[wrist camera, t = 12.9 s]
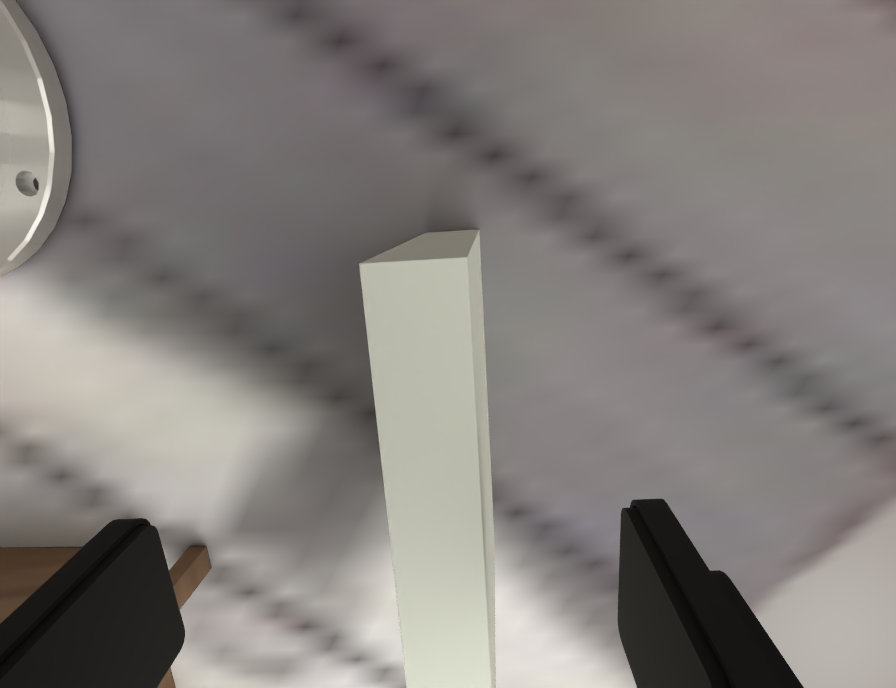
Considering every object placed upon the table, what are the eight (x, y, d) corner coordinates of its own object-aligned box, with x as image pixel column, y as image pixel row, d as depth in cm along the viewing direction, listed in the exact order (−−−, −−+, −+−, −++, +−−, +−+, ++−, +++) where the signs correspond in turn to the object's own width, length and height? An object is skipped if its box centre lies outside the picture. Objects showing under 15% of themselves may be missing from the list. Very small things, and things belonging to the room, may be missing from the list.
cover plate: (425, 232, 19) (359, 263, 9) (479, 229, 19) (467, 257, 9) (448, 533, 22) (417, 780, 13) (494, 532, 22) (496, 784, 13)
